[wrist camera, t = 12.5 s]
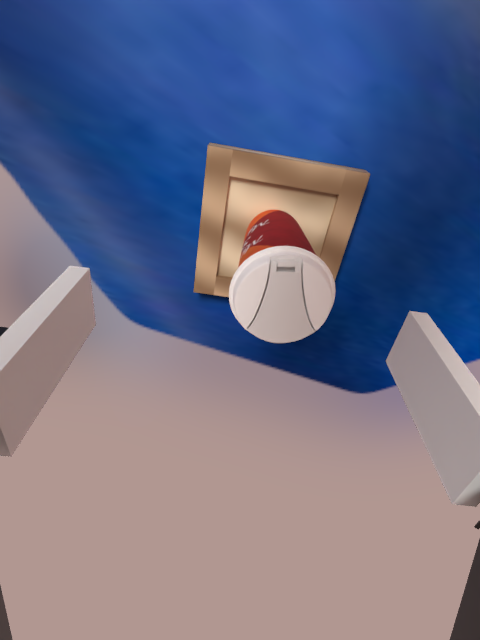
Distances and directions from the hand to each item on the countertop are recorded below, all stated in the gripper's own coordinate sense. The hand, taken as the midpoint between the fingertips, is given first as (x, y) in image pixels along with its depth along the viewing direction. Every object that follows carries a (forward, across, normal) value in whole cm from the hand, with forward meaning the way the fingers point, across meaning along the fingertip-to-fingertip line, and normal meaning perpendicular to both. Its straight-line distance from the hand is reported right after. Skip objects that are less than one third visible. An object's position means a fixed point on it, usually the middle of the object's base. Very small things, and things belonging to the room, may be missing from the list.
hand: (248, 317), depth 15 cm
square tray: (+27, +3, -6) cm, 28 cm away
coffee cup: (+26, +3, -6) cm, 26 cm away
